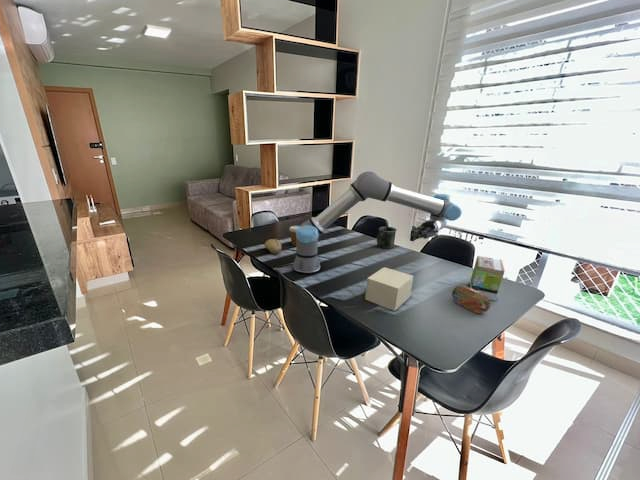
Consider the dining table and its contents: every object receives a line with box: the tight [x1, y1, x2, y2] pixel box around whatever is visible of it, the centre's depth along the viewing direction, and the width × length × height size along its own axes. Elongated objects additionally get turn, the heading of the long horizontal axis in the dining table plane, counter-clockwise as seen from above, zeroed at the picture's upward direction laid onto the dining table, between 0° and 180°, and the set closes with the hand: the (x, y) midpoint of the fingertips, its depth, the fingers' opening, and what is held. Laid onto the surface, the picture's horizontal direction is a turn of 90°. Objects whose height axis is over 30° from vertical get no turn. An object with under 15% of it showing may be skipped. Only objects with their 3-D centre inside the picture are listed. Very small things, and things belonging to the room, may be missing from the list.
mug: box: [376, 226, 397, 250], centre depth 189 cm, size 11×15×12 cm
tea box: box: [469, 255, 505, 301], centre depth 132 cm, size 15×10×15 cm, turn 148°
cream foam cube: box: [364, 266, 414, 312], centre depth 128 cm, size 16×14×11 cm
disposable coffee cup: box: [288, 225, 301, 247], centre depth 197 cm, size 10×10×12 cm
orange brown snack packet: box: [451, 285, 492, 314], centre depth 121 cm, size 15×3×8 cm, turn 23°
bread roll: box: [264, 238, 283, 255], centre depth 186 cm, size 10×15×8 cm, turn 28°
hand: (411, 238), depth 134 cm, fingers closed
